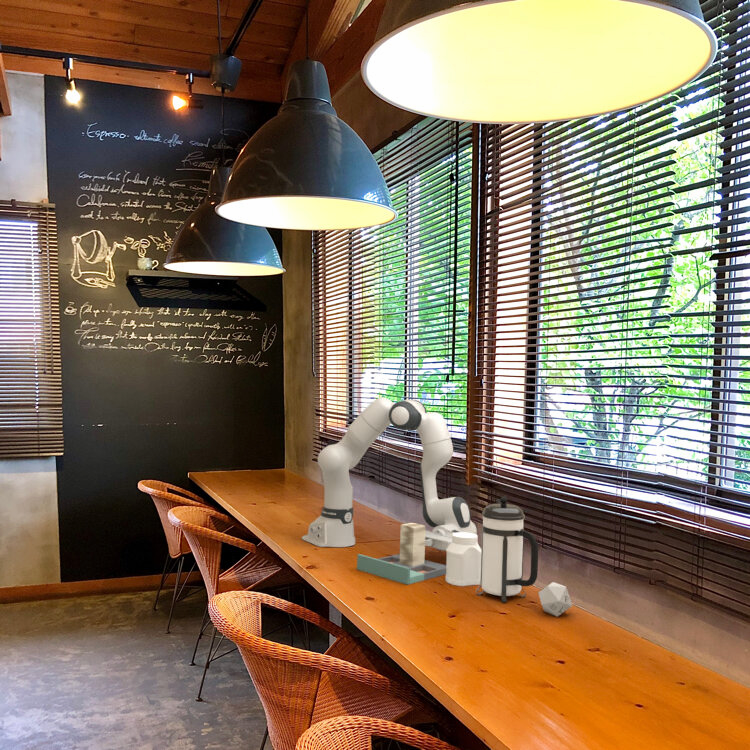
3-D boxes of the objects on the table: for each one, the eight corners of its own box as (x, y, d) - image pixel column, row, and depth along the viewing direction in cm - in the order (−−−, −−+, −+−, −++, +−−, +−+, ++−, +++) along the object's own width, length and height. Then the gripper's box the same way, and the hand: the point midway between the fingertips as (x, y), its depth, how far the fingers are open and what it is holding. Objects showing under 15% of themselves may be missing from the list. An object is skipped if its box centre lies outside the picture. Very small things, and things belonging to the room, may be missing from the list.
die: (540, 619, 193) (562, 595, 190) (527, 595, 201) (548, 571, 198) (561, 627, 197) (584, 602, 194) (548, 602, 204) (569, 579, 201)
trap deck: (356, 569, 236) (357, 554, 236) (400, 559, 252) (401, 545, 252) (407, 584, 220) (408, 568, 220) (451, 572, 236) (451, 557, 236)
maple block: (399, 562, 239) (400, 524, 239) (411, 560, 243) (412, 522, 243) (412, 566, 235) (413, 527, 235) (424, 563, 239) (425, 525, 239)
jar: (454, 587, 219) (456, 539, 219) (440, 578, 228) (442, 532, 228) (486, 584, 224) (488, 537, 224) (471, 576, 233) (473, 530, 233)
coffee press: (476, 602, 204) (479, 499, 205) (475, 586, 220) (478, 491, 221) (536, 607, 202) (539, 503, 202) (532, 590, 218) (534, 494, 218)
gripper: (421, 524, 258) (396, 528, 248) (466, 533, 244) (441, 539, 234) (421, 541, 258) (395, 546, 248) (465, 551, 244) (440, 558, 234)
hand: (418, 543), depth 241 cm, fingers closed, pressing on maple block
